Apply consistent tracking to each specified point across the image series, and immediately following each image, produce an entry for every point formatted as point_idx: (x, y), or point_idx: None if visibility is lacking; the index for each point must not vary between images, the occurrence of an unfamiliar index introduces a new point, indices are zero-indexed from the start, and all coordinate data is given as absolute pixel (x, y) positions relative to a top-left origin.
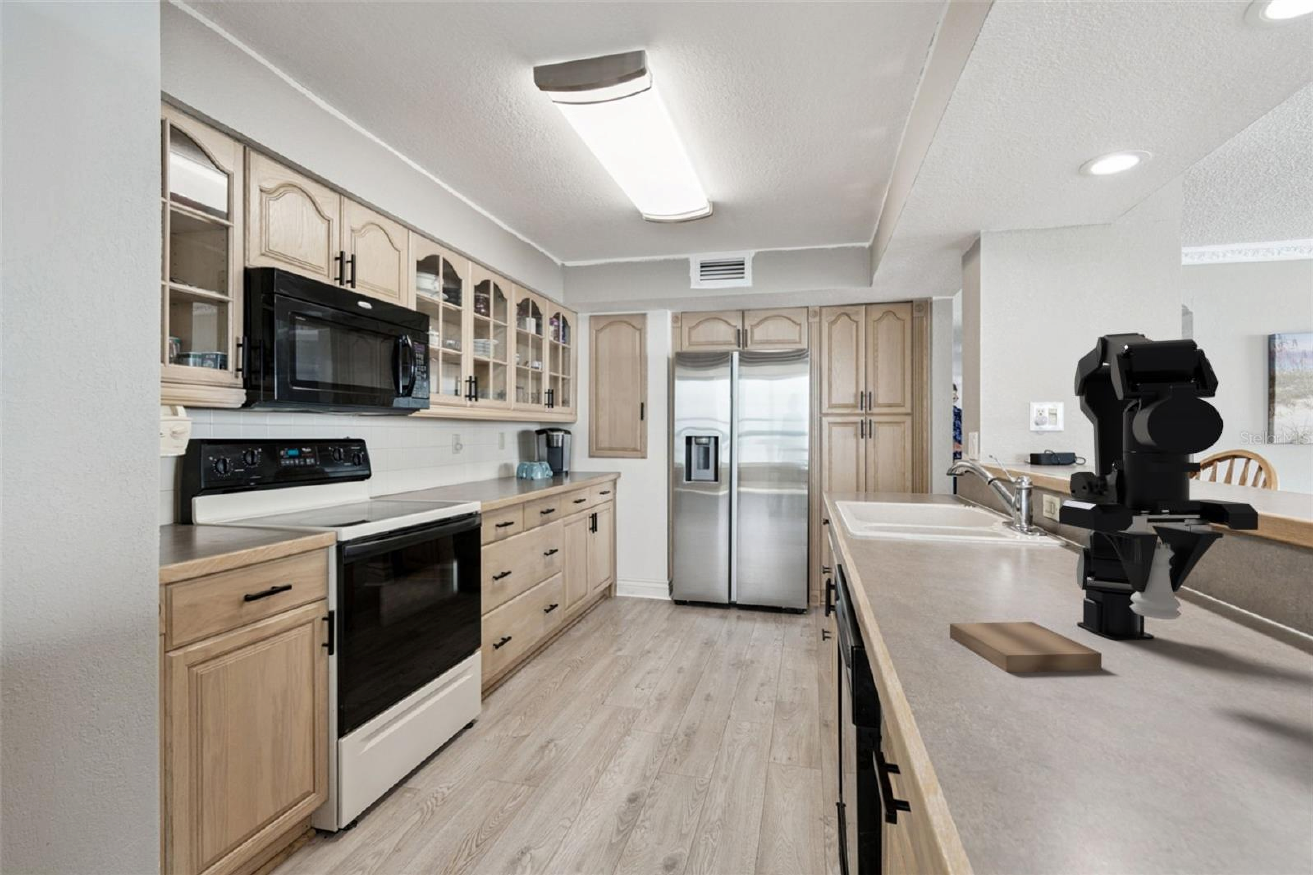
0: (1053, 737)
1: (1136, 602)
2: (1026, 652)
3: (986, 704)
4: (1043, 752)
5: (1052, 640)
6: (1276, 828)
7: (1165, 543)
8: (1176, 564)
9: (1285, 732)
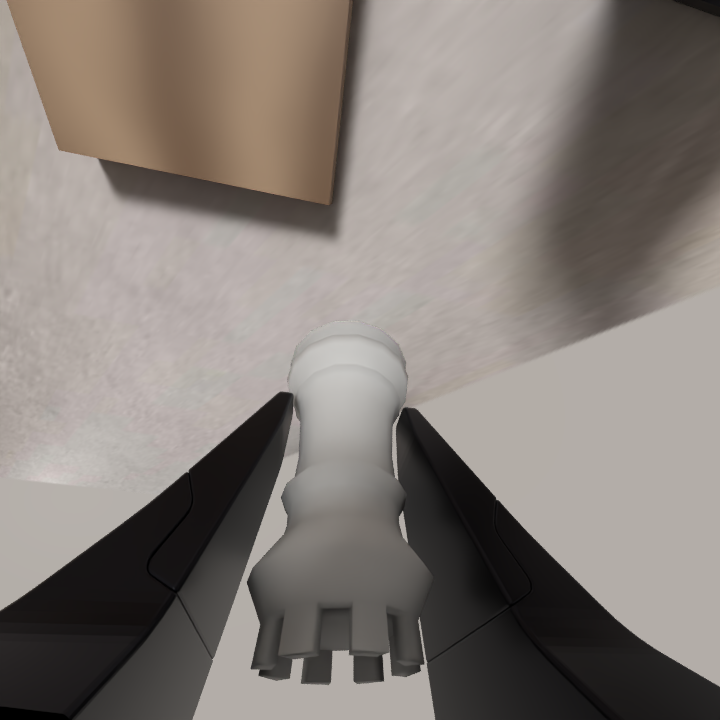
0: (86, 376)
1: (288, 377)
2: (129, 143)
3: (10, 286)
4: (60, 395)
5: (273, 55)
6: None
7: (392, 675)
8: (420, 529)
9: None
